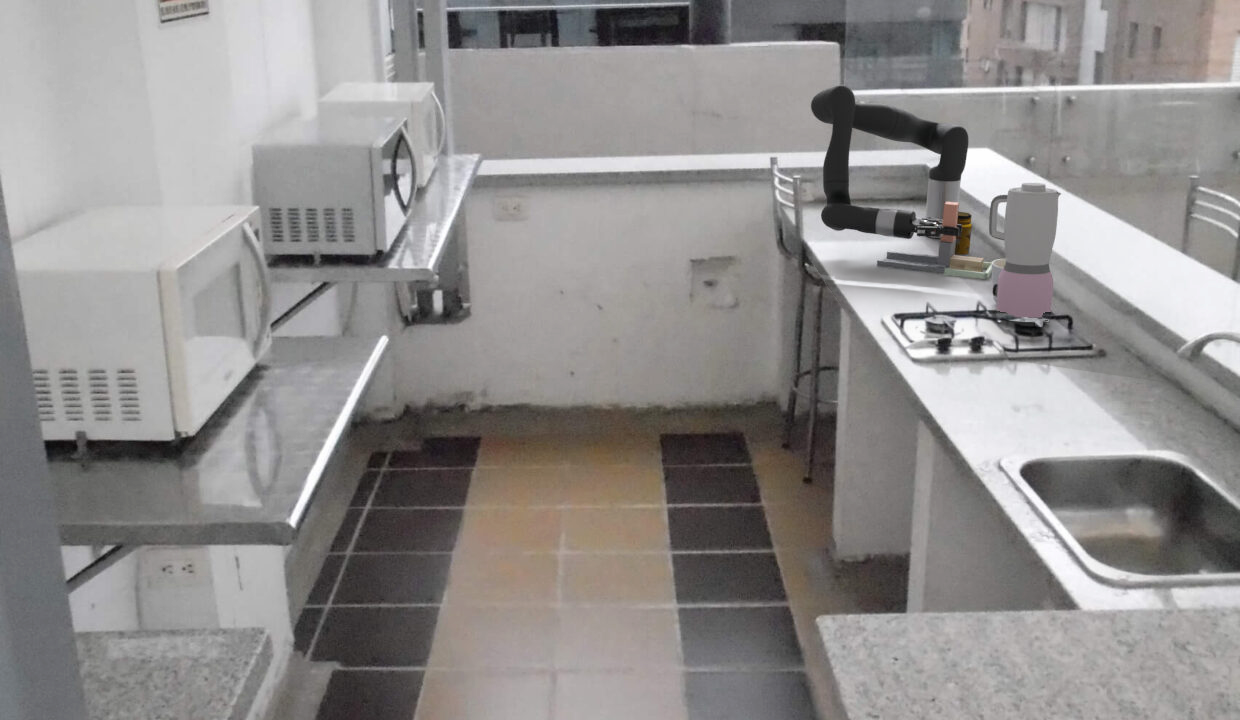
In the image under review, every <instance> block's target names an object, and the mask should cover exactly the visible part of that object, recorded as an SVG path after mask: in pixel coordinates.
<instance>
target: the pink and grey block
mask: <svg viewBox="0 0 1240 720" xmlns="http://www.w3.org/2000/svg"><path fill="white" fill-rule="evenodd" d="M959 207H960V202H959V203H957V202H946V203H945V204H944V213H943V223H942V225H943V226H944V228H945V226H949V227H957V219H958V212H959V209H960V208H959ZM955 244H956V236H951V235H942V236H941V238H940V241H939V246H938V254H937V256H938V263H937V264H940V265H948V266H949V265H950V258H951V257H952V256H953V255H955V254H954V253H955Z"/></svg>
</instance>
